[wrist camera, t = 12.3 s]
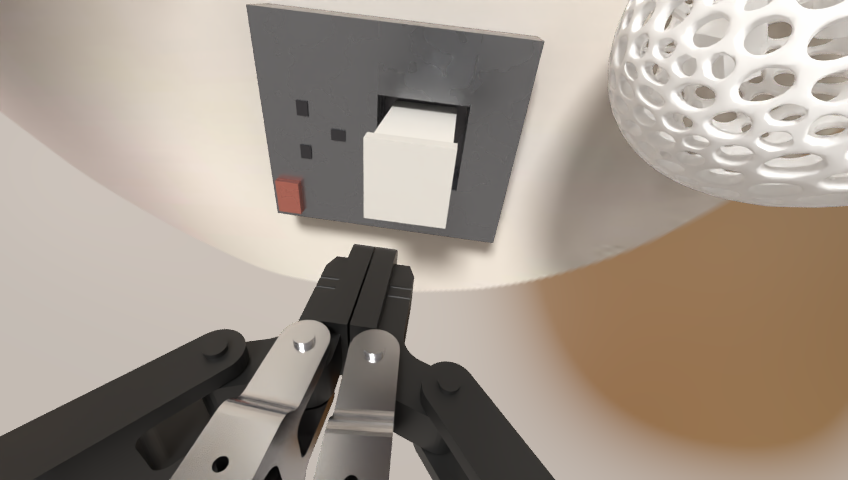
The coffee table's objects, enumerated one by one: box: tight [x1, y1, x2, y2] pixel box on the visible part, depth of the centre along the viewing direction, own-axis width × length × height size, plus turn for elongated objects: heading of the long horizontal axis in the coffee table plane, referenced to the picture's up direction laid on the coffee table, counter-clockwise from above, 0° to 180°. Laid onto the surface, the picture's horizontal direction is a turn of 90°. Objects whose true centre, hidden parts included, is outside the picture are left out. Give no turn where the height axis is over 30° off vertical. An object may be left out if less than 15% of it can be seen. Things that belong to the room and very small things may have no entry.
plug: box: [363, 100, 458, 229], centre depth 21 cm, size 4×4×8 cm
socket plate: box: [246, 3, 544, 243], centre depth 24 cm, size 16×13×3 cm
